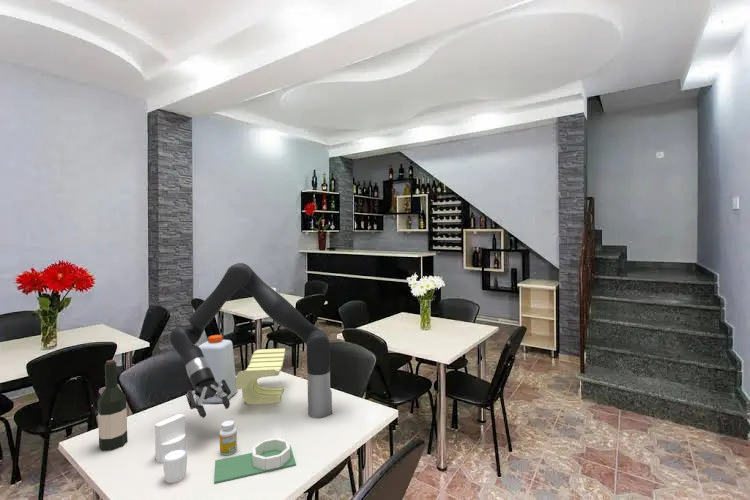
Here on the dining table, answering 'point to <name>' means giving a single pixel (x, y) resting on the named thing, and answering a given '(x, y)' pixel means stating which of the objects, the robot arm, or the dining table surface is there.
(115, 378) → the wine bottle
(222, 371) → the plastic bottle
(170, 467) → the white tapered cup
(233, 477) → the green board with ring
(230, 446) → the supplement bottle
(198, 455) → the dining table surface
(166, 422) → the cylinder with rectangular tab
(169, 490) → the dining table surface
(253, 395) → the slatted curved stool
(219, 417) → the dining table surface
